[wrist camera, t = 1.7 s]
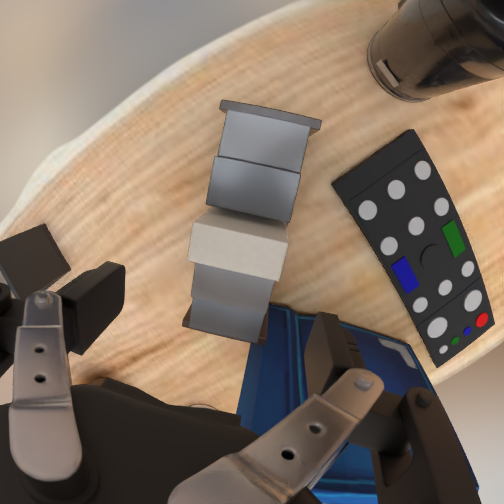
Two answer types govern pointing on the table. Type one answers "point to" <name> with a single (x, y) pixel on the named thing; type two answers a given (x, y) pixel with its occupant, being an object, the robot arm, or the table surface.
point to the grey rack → (248, 212)
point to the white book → (239, 243)
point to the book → (295, 393)
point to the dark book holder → (31, 262)
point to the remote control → (420, 244)
